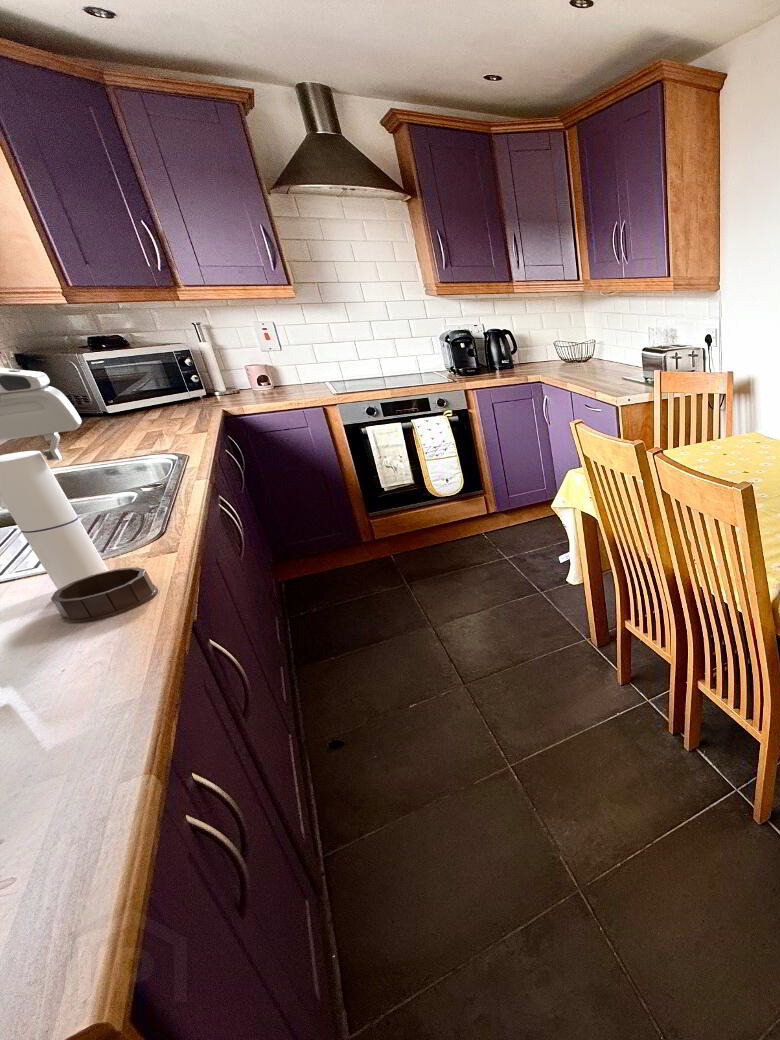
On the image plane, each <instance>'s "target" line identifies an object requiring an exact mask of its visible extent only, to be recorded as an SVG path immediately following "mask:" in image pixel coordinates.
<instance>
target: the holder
mask: <svg viewBox="0 0 780 1040" xmlns="http://www.w3.org/2000/svg"><path fill="white" fill-rule="evenodd" d="M158 592H159V588H158V587H157V585H156V584H154V583H153V582H152V579H151V578H150V576H149V574H148V572H147V569H145V568H141V567H137V566H133V567H121V568H115V569H110V570H108V571H106V572H102V573H98V574H95V575H91V576H88V577H85V578H83V579H80V580H77V581H74V582H72V583H70V584H68V585H66V586H64V587H63V588H61V589H59V590H58V589H56V591H54V593H53V594H52V596H51V597H50V600H51V601H52V603H53V605H54V606H55V607H56V609H57V611H58V612H59V614H60V615H59V618H60V620H61V621H62V620H63V621H62V622H63V623H66V622H67V624H85V623H90V622H95V621H100V620H105V619H108V618H111V617H113V616H117V615H121V614H124V613H126V612H128V611H131V610H133V609H136V608H138V607H140V606H142V605H144V604H145V603H147V602H148V601H149V602H150V600H152V599H153V598H154V597H156V595H157V594H158Z"/></svg>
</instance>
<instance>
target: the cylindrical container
mask: <svg viewBox="0 0 780 1040" xmlns="http://www.w3.org/2000/svg"><path fill="white" fill-rule="evenodd" d="M46 460H47V459H46V458H45V457H44V454H43V452H41V451H40V450H29V451H28V450H27V451H26V450H25V451H18V452H11V453H6V454H1V455H0V501H2V503H3V505H4V506H5V508H6V509H7V511H8V512H9V514H10V516H11V518H12V519H13V521H14V523H15V524H16V525H17V527H18V528H19V530H20V531H21V534H22V535H23V537H24V538H25V540H26V542H27V543H28V545H29V546H30V548H31V550H32V551H33V553H34V554H35V556H36V557H37V559H38V561H39V562H40V564H41V565H42V567H43V569H44V571H45V572H46V573H47V575H48V577H49V578H50V580H51V582H52V583H53V585H54V586H55V588H56V590H59V589H61V588H63V587H64V586H66V585H68V584H70V583H72V582H74V581H77V580H80V579H83V578H85V577H88V576H91V575H95V574H98V573H102V572H106V571H109V569H108V567H107V565H106V564H105V562H104V561H103V559H102V558H103V557H101V555H100V553H99V551H98V550H97V547H96V546H95V544H94V543H93V540H92V539H91V537H90V536H89V534H88V532H87V530H86V528H85V527H84V525H83V523H82V521H81V520H80V517H78V515H77V512H76V511H75V509H74V508H73V506H72V504H71V502H70V500H69V498H68V497H67V495H66V494H65V492H64V490H63V489H62V487H61V485H60V483H59V481H58V479H57V478H56V476H55V475H54V473H53V471H52V470H51V468H50V466H49V464H48V462H47V461H46Z"/></svg>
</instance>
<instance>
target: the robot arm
mask: <svg viewBox="0 0 780 1040" xmlns="http://www.w3.org/2000/svg"><path fill="white" fill-rule="evenodd" d="M50 383H51V380H50V378H49V376H48V375H47V373H45V372H42V371H35V370H25V369H17V368H8V367H2V366H0V442H2V441H3V442H4V441H9V440H16V439H22V438H30V437H36V436H37V437H38V436H43V438H44V440H45V441H46V442H48V441H50V444H49V449H44V451H43V452H42V454H43V456H45V457H46V458H45V460H47V461H48V462H54V461H60V460H62V459H63V457H62V455H61V453H60V450H59V444H60V440H61V436H60V434H59V433H64V432H70V431H76V430H77V429H79V428H80V426H81V425H82V421H83V420H82V418H81V416H80V415H79V413H78V411H77V410H76V408H75V406H74V405H73V404H72V403H71V401H70V400H69V398H68V397H67V396H66V395H65V393H63V392H62V391H61V390H59V389H58V388H56V387H54V386H50V385H49V384H50Z"/></svg>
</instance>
